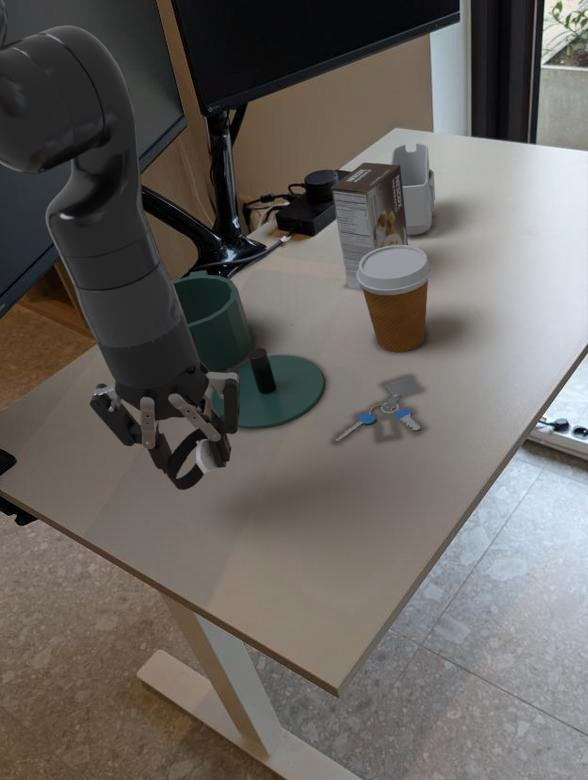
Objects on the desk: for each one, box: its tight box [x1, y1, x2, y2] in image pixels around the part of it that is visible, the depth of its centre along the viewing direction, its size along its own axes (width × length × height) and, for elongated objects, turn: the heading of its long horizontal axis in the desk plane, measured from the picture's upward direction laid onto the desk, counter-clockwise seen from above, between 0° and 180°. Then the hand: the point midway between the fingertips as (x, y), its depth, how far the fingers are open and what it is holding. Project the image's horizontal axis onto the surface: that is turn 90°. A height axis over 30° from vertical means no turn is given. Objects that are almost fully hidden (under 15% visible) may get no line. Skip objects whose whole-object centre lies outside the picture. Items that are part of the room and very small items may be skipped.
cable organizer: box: [390, 142, 436, 236], centre depth 113 cm, size 7×12×12 cm, turn 175°
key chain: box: [335, 377, 421, 442], centre depth 82 cm, size 14×8×1 cm, turn 147°
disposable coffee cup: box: [356, 244, 432, 353], centre depth 89 cm, size 10×10×12 cm
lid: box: [211, 347, 325, 430], centre depth 86 cm, size 15×15×7 cm
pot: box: [172, 269, 253, 373], centre depth 95 cm, size 14×19×8 cm
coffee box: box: [330, 162, 409, 291], centre depth 100 cm, size 9×6×16 cm
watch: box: [166, 428, 218, 491], centre depth 67 cm, size 8×5×4 cm, turn 168°
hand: (196, 464), depth 68 cm, fingers closed on watch, 5 cm apart
